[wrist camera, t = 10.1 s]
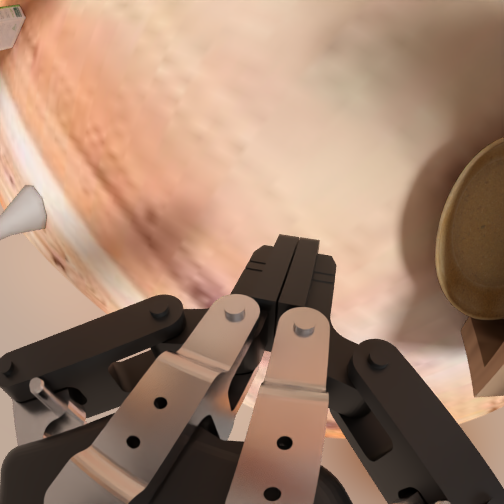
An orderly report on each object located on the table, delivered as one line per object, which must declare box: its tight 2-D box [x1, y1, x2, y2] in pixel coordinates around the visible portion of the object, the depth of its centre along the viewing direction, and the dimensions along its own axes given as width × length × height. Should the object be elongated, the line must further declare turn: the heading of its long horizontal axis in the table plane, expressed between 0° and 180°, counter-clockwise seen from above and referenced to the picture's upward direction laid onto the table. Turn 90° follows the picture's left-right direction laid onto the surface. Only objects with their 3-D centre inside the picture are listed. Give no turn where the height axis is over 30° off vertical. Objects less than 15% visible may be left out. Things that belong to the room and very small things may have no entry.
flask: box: [0, 185, 46, 240], centre depth 27 cm, size 7×7×10 cm
